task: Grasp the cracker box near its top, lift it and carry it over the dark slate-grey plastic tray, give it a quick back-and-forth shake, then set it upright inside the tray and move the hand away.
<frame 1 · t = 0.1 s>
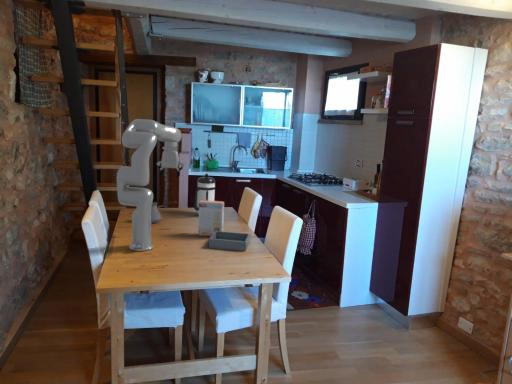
hand: (170, 176, 248), 31 cm above the table, tool pointing down, fingers open, 9 cm apart
tray: (229, 245, 222), on the table
coffee press: (204, 215, 283), on the table
coffee pot: (159, 222, 259), on the table
cracker box: (210, 236, 237), on the table
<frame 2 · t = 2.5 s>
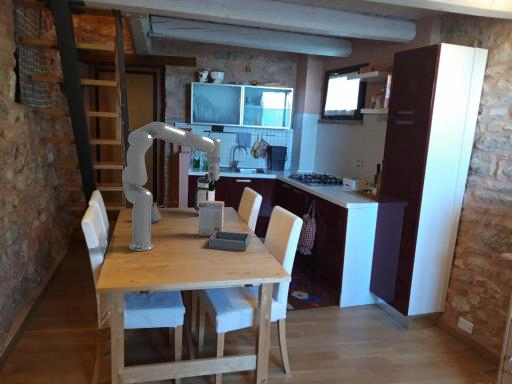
hand: (213, 189, 232), 28 cm above the table, tool pointing down, fingers open, 9 cm apart
nothing on the table moved.
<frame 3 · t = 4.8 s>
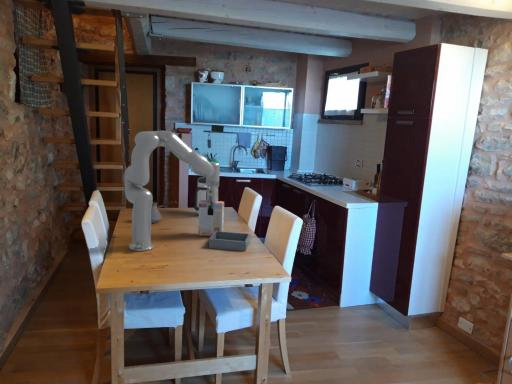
hand: (211, 213, 234), 14 cm above the table, tool pointing down, fingers closed on cracker box, 5 cm apart
cracker box: (210, 236, 237), on the table, touching gripper
everything else where it was.
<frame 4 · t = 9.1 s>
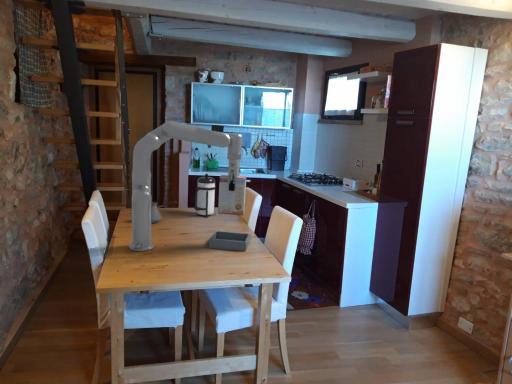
hand: (232, 189, 217), 31 cm above the table, tool pointing down, fingers closed on cracker box, 5 cm apart
cracker box: (231, 214, 220), point 17 cm above the table, touching gripper
everything else where it was.
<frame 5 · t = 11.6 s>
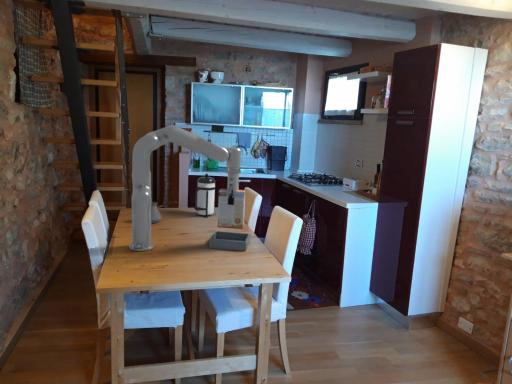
hand: (231, 203, 217), 24 cm above the table, tool pointing down, fingers closed on cracker box, 5 cm apart
cracker box: (230, 227, 220), point 10 cm above the table, touching gripper
everything else where it was.
when the fingers open (16 cm above the table, at t = 13.9 s): cracker box drops 1 cm, resting on tray.
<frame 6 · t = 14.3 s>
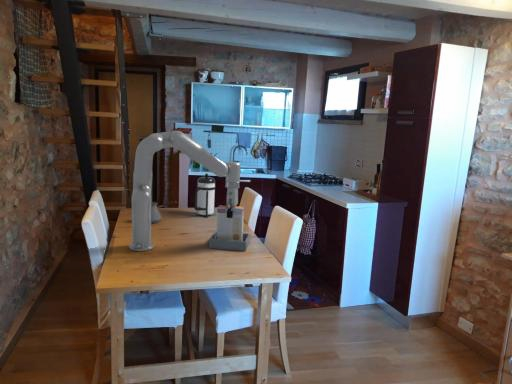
hand: (231, 215, 218), 17 cm above the table, tool pointing down, fingers open, 9 cm apart
cracker box: (229, 243, 221), point 1 cm above the table, touching tray
everything else where it was.
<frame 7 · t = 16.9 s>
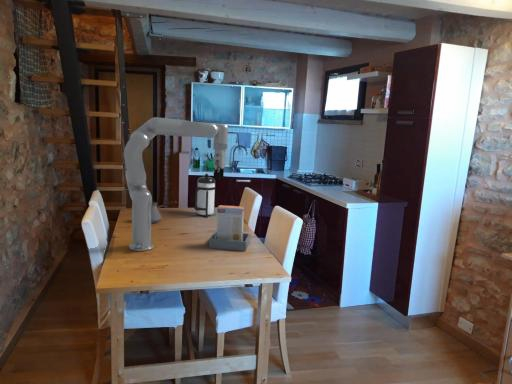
hand: (218, 178, 220), 36 cm above the table, tool pointing down, fingers open, 9 cm apart
nothing on the table moved.
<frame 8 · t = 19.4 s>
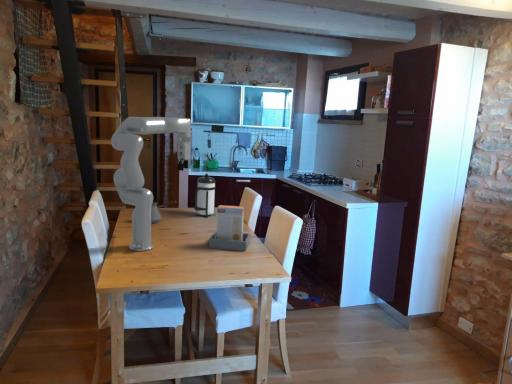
hand: (183, 169, 233), 38 cm above the table, tool pointing down, fingers open, 9 cm apart
nothing on the table moved.
at the end: cracker box inside the target area on the tray (0.2 cm from its centre), point 0.8 cm above the tray's base; cracker box tilted 0°; the gripper is holding nothing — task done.
